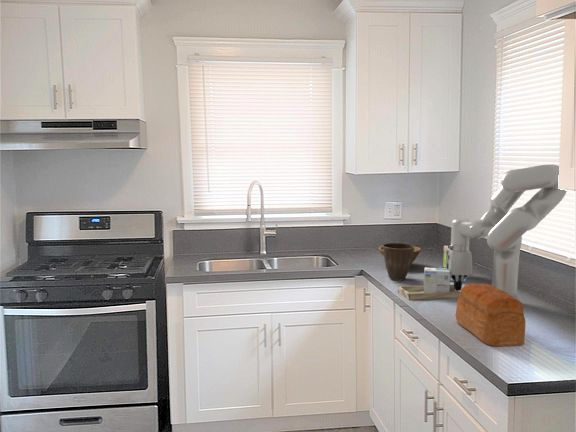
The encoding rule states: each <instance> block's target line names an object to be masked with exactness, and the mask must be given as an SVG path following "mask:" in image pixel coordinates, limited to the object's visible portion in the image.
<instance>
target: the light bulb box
mask: <svg viewBox="0 0 576 432" xmlns="http://www.w3.org/2000/svg"><path fill="white" fill-rule="evenodd" d="M423 274H424V275H423V286H424V293H433V292H449V289H450V285H451V284H450V283H451V281H450V270H449V269H444V268H443V267H442V268H440V267H427V266H425V267H424V271H423Z"/></svg>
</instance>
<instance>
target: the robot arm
mask: <svg viewBox="0 0 576 432" xmlns="http://www.w3.org/2000/svg"><path fill="white" fill-rule="evenodd" d="M558 175H559V165H557V164H541V165H536V166H535V165H534V166H529V167H524V168H518V169H517V168H516V169H511V170H508V171H506V172H505V173H504V174H503V175H502V177H501V180H500V186H499V187H498V189H497V190H496V191H495V192H494V193H493V194H492V196H491V197H490V205H489V207H488V210H487V211H486V212H485V213H484V214H483V216H482V217H481V218H480V219H477V220H473V221H472V220H471V221H470V220H469V219H467V218H454V219H453V220H452V221H451V232H450V244H449V245H447V246H448V249H450V251H449V253H448V257H447V263H446V269H449V270H450V277H451V278H452V279H453V280H454V281H453V284H454V289H455V290H456V291H458V292H459V291H460V290H461V288H463V280H464V279H465V278H466V279H467V278H469V277H471V274H472V273H473V258H472V251H470V239H473V240H480V239H484V238H486V242H487V245H488V247H489V248H490V249H491V250H492V251H494V253H493V263H492V275H491V276H492V278H491V280H492V281H491V286H494V287H495V288H498V289H500V290H502V291H504V292H506V293H508V294H509V295H511V296H512V297H514V298H516V299H517V300H518V301H520V302H521V300H520V298H518V279H519V266H520V263H519V261H520V253H521V249H522V247H521V246H522V242H523V241H522V240H523V235H524V234H525V233H527V232H528V231H531V230H533V229H534V228H535V229H536V226H538V225H539V223H541V222H542V221H543V219H545V218H546V217H547V216H548V215H549V214H550V213H551V212H552V211H553V210H554V209H555V208H556V207H557V206H558V205H559V204H560V203H561V202H562V201H563V199H564V197H565V195H566V194H567V192H568V190H567V191H565V190H560V189H558ZM538 189H540V190H538ZM531 190H532V191H533V190H538V191H537V192H536V193H535V194H534V195H532V197H531V198H530V199H529V200H527V202H526V203H525V204H523V205H521V206H519V207H515V208H514V209H511V208H512V207H513V206H514V205H515V204H516V202H517V201H518V200H519V199H520V198H521V196H522V195H523V194H524V193H525V192H526V191H531ZM510 209H511V210H510Z"/></svg>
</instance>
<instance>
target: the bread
mask: <svg viewBox="0 0 576 432" xmlns="http://www.w3.org/2000/svg"><path fill="white" fill-rule="evenodd" d="M522 303H523V302H521V300H520V301H518V300H517V299H516V298H514V297H512V296H511V295H509V294H508V293H506V292H504V291H502V290H500V289H498V288H495V287H494V286H492V284H488V283H480V282H479V283H476V282H473V283H467V284H465V285H464V286H462V288H461V290H460V296H459V298H457V300H456V312H455V313H454V315H455V318H456V319H455V320H456V322H457V324H458V325H460V326H461V327H462V328H464V329H466V330H467V331H469V332H470V333H471V334H472V335H473V336H475V337H476V338H477V339H479V340H480V341H481V342H482V343H484V344H486V345H488V346H494V347H511V346H512V347H514V346H517V347H518V346H522V345H525V336H526V335H525V334H526V317H525V312H524V311H525V310H524V306H523V304H522Z"/></svg>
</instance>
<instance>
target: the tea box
mask: <svg viewBox="0 0 576 432" xmlns="http://www.w3.org/2000/svg"><path fill="white" fill-rule="evenodd" d="M449 251H450V249H448V245H443V253H442V268H444V269H446V263H447V257H448V253H449ZM466 280H467V277H466V278H465V279H464V280H463V281H462V283H463V282H464V283H465V282H466ZM450 282H454V280H453V279H452V278H451V277H450Z"/></svg>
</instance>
